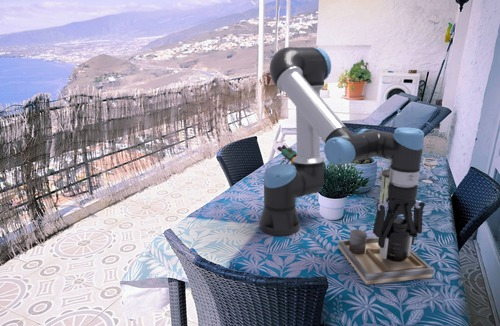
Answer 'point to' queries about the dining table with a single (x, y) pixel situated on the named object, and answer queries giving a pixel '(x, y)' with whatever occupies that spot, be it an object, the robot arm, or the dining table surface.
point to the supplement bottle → (398, 241)
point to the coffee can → (384, 186)
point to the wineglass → (429, 166)
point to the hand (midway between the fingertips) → (394, 254)
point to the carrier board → (380, 261)
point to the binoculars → (287, 154)
